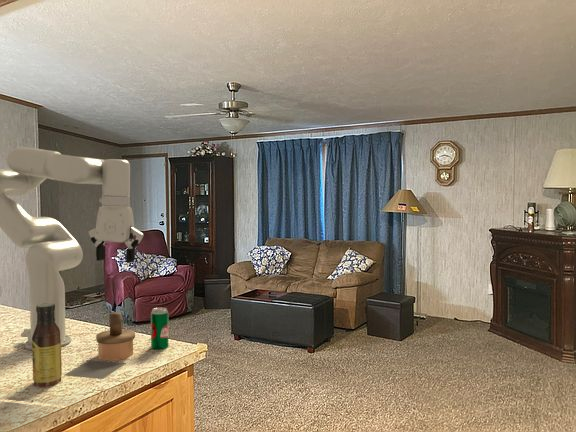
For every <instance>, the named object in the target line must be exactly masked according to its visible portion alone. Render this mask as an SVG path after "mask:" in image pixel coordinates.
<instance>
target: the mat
mask: <svg viewBox="0 0 576 432" xmlns="http://www.w3.org/2000/svg"><path fill="white" fill-rule="evenodd" d="M126 364H127V363H126V362H121V361H119V362H118V361H117V362H116V361H109V360H96V359H95V360H94V359H89V360H88V361H86V362H85V363H82V364H81V365H79V366H77V367H75V368H73V369H71V370H70V371H68V372H66V373H65V374H63V376H70V377H78V378H89V379H99V380H104V379H105V378H107V377H108V376H109V375H111V374H112V373H115V371H117V370H119V369H120V368H122V367H124V366H125V365H126Z"/></svg>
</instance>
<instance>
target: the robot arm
mask: <svg viewBox="0 0 576 432" xmlns="http://www.w3.org/2000/svg"><path fill="white" fill-rule="evenodd" d="M5 160H6V164H7V167H8V168H9V169H7V168H0V229H1V231H2V232H3V233H4V234H5V235H6V236H7V237H8V238H9V240H10V241H11V242H12V243H14V245H16V246H17V247H18V248H21V249H28V250H27V251H26V253H25V258H24V260H25V266H26V270H27V275H28V282H29V283H28V284H29V311H30V312H29V314H30V315H29V316H30V328H24V329H23V332H21V333H20V337H21V338H27V341H26V342H25V343H24V348H25V349H26V350H30V351H32V336H33V333H34V331H35V328H36V325H37V311H36V306H37V305H38V304H41V303H54V304H55V310H54V318H55V321H54V322H55V323H56V325H57V326H58V327H59V329H60V340H61V348H62V347H65V346H68V345H69V344H71V342H72V338H71V336H69V335H67V334H66V287H65V283H64V279H63V278H62V276H61V274H60V271H65V270H70V269H73V268H75V267H77V266H79V265H80V264H81V262H82V261H83V257H84V253H83V249H82V246H81V245H80V243H79V242H78V240H76V239H75V237H74V236H73V235H72V234H71V233H70V232H69V231H68V230H67V228H65V227H64V225H63V224H62V223H61V222H60V221H58V220H57V219H55V218H53V217H49V216H32V215H31V214H29V213H28V212H27V211H26V210H25V209H24V208H23V207H22V205H20V203H18V202H17V201H15V200H13V199H12V198H10V197H21V196H22V197H23V196H26V195H29V194H31V193H32V192H33V191H34V190H36V188H38V187H39V186H40V185H41V184H43V182H45V181H46V180H47V179H49V180H52V181H59V182H64V183H70V184H77V185H78V184H79V185H81V184H83V185H86V184H87V185H102V186H101V187H102V188H101V194H102V195H101V197H99V199H98V202H99V203H101V206H99V207H98V210H97V214H96V215H97V216H96V223H95V227H94V228H92V229H91V230H90V229H89V231H88V235H89V237H90V241H91V242H92V243H93V246H94V247H95V248H96V249H95V258H96V261H103V260H106V246H105V244H106V242H109V243H124V244H125V245H126V247H127V248H126V250H125V254H126V255H125V262H126V263H127V264H130V263H134V262H135V259H136V249H137V247H138V246H139V245H140V244H141V243H142V239H143V237H144V233H143V232H141V231H140V230H138V229H137V228H135V222H134V219H135V218H134V214H133V208H132V207H130V206H131V163H130V162H129V161H128V160H127V159H117V158H109V159H108V158H107V159H101V158H94V157H85V156H76V155H75V156H74V155H68V154H62V153H61V152H59V151H57V150H50V149H49V150H47V149H43V148H35V147H28V146H27V147H26V146H19V147H15V148H13V149H11V150H9V152H8V153H7V155H6V159H5ZM134 238H135V239H134Z"/></svg>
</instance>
